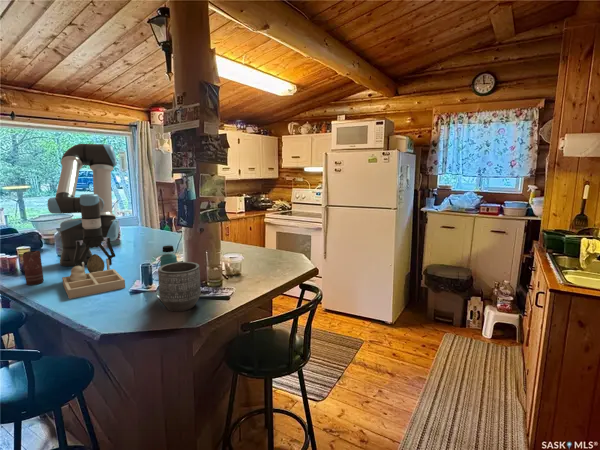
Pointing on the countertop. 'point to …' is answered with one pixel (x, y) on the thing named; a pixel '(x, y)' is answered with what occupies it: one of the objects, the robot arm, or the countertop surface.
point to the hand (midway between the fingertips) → (96, 274)
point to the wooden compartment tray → (93, 283)
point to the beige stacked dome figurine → (77, 274)
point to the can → (33, 267)
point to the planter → (179, 285)
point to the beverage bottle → (168, 256)
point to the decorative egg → (95, 264)
